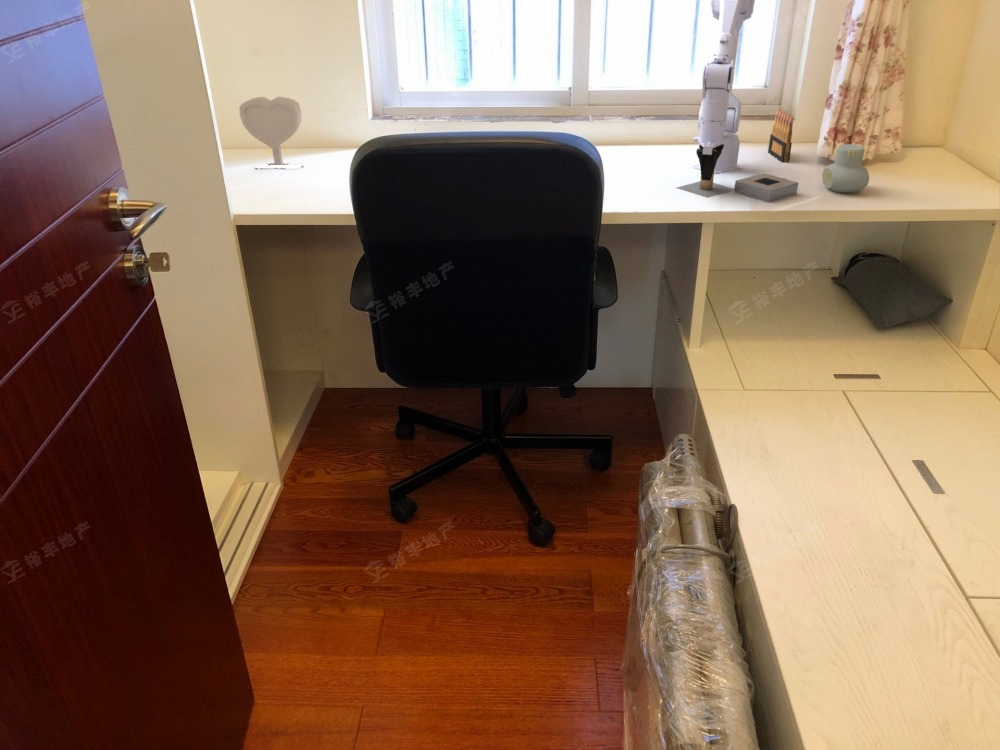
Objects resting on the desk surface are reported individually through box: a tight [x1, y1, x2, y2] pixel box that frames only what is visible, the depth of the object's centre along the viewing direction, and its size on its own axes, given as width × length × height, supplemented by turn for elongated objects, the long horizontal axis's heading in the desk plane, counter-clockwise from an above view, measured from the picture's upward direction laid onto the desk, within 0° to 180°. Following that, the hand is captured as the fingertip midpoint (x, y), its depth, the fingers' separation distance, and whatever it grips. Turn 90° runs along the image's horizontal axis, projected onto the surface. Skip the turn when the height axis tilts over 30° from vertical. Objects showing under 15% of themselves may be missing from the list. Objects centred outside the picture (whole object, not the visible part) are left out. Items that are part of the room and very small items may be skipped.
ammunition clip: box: [767, 107, 794, 163], centre depth 211 cm, size 11×2×12 cm, turn 4°
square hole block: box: [733, 172, 799, 203], centre depth 185 cm, size 10×10×3 cm
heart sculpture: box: [239, 96, 302, 166], centre depth 212 cm, size 16×5×18 cm, turn 85°
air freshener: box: [821, 143, 870, 194], centre depth 185 cm, size 11×8×10 cm
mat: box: [675, 180, 734, 198], centre depth 190 cm, size 10×10×1 cm
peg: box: [699, 149, 716, 190], centre depth 188 cm, size 3×3×9 cm
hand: (707, 177), depth 188 cm, fingers closed on peg, 3 cm apart
